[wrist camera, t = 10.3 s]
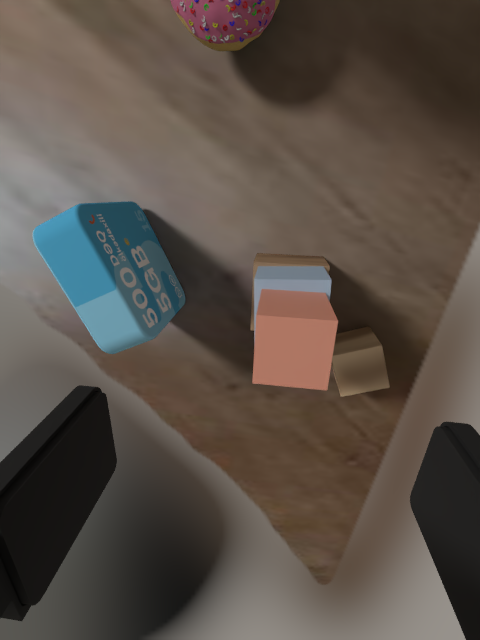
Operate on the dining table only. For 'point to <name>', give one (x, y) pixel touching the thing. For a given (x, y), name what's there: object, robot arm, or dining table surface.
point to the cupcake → (225, 20)
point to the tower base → (284, 261)
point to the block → (359, 362)
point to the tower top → (290, 281)
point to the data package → (111, 272)
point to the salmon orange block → (294, 339)
